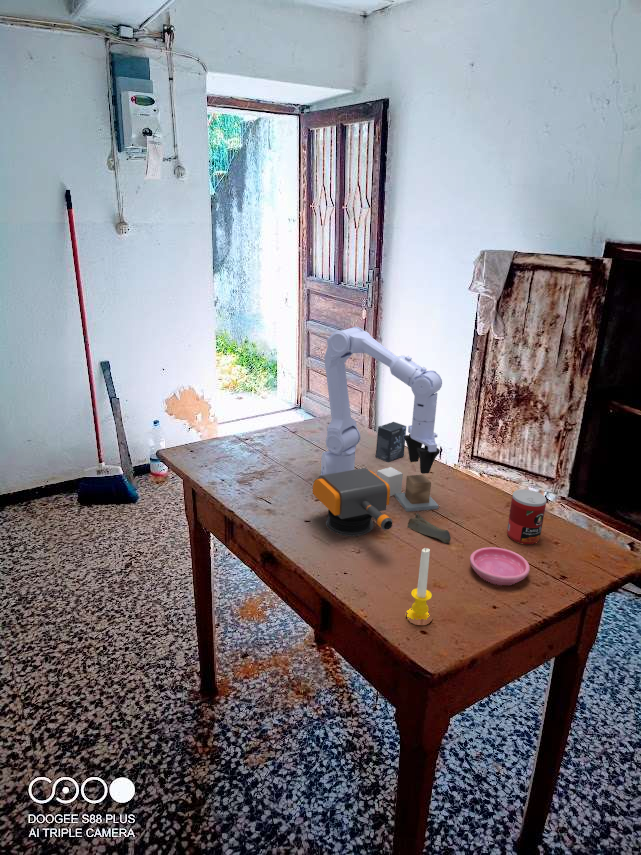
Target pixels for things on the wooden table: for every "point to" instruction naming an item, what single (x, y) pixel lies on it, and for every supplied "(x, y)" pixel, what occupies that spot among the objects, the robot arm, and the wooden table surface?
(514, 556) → the saucer
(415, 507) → the coaster
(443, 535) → the bone
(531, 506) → the canned food
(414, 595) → the candle
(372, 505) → the sander
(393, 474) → the grey block
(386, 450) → the box
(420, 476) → the walnut block
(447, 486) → the wooden table surface
